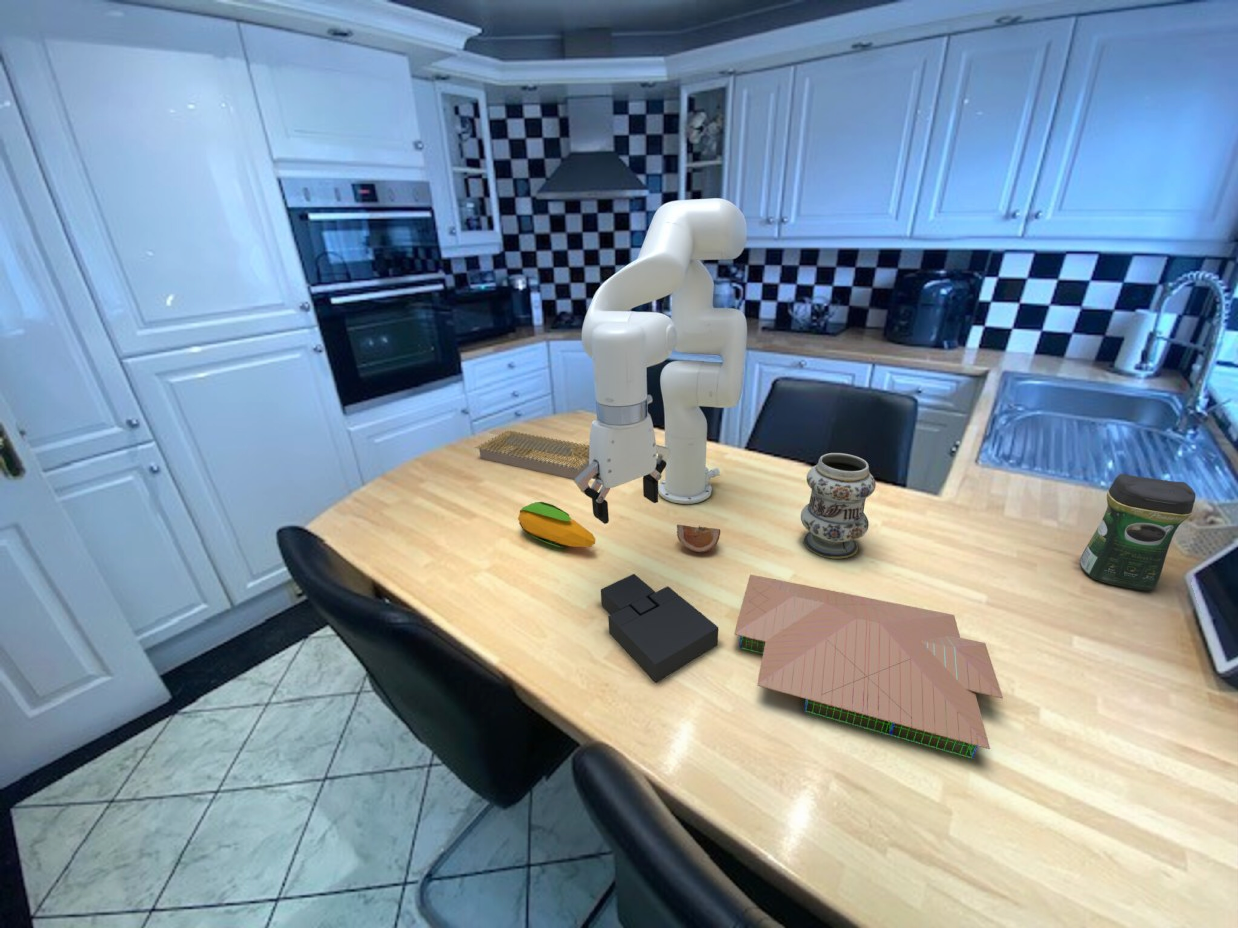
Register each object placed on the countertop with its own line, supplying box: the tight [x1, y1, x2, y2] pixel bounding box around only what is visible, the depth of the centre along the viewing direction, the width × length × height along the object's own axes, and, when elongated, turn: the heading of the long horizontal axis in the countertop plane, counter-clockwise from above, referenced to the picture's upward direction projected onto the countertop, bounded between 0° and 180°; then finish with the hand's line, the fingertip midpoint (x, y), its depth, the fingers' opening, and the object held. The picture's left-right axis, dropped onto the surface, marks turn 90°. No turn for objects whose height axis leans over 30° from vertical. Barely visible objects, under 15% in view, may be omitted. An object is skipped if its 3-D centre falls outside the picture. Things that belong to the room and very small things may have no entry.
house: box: [733, 573, 1004, 759], centre depth 71 cm, size 23×33×8 cm
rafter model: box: [474, 430, 589, 480], centre depth 140 cm, size 35×14×6 cm, turn 61°
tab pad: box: [600, 573, 656, 616], centre depth 84 cm, size 7×9×4 cm
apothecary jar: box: [800, 452, 877, 560], centre depth 96 cm, size 12×12×18 cm
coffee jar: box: [1079, 473, 1196, 591], centre depth 84 cm, size 10×8×19 cm
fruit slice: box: [676, 524, 721, 553], centre depth 99 cm, size 8×7×5 cm
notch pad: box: [607, 585, 719, 683], centre depth 78 cm, size 12×12×4 cm
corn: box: [517, 501, 596, 549], centre depth 103 cm, size 7×8×20 cm
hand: (626, 509), depth 82 cm, fingers open, 9 cm apart
